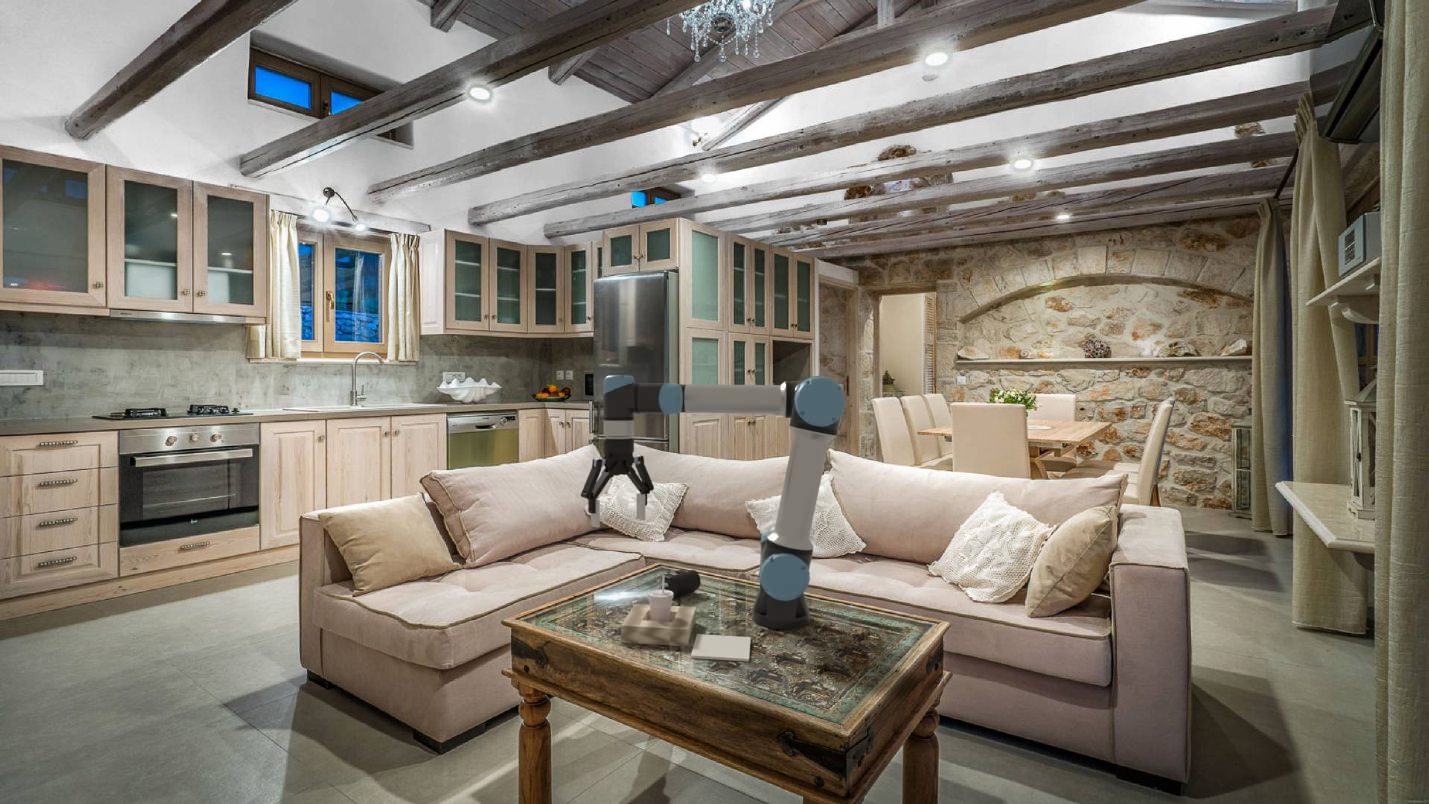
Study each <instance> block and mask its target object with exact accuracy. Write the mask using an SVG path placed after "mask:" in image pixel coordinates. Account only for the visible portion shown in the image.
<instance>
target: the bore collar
mask: <svg viewBox="0 0 1429 804" xmlns="http://www.w3.org/2000/svg"><path fill="white" fill-rule="evenodd" d="M696 614H697V607H696V606H680V605H679V606H678V605H671V610H670V617H669V622H664V621H651V613H650V604H642V603H634V605H633V606H632V608H631V610H630V611H629V612H628V614H627V616H626V617H625V619H624V620H623V621H622V623H621V624H620V643H626V644H627V643H628V644H642V645H658V646H677V647H688V646H689V645H690V640H691V638H692V634H693V632H694V629H695V625H696V622H697V621H696V619H697V615H696Z"/></svg>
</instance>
